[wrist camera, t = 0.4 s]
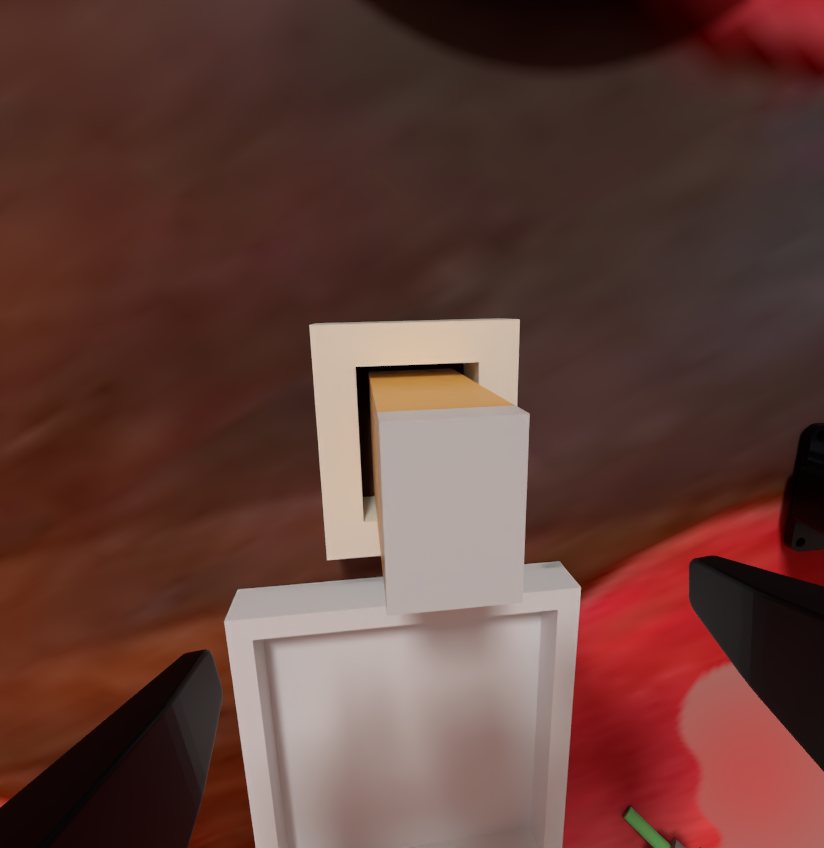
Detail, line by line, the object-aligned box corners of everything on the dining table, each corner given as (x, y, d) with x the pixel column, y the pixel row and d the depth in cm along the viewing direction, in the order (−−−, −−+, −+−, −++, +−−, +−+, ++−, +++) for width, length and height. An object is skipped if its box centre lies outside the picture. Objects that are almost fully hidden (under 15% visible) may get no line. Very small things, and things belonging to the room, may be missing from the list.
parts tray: (559, 561, 22) (580, 587, 20) (543, 829, 26) (560, 874, 24) (237, 589, 21) (224, 621, 18) (274, 870, 25) (266, 923, 22)
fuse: (451, 368, 19) (529, 414, 11) (452, 480, 21) (522, 602, 12) (368, 371, 19) (378, 421, 10) (373, 485, 20) (387, 615, 12)
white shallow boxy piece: (499, 318, 19) (519, 319, 17) (494, 518, 21) (512, 545, 19) (315, 323, 18) (309, 325, 16) (330, 530, 20) (327, 560, 18)
